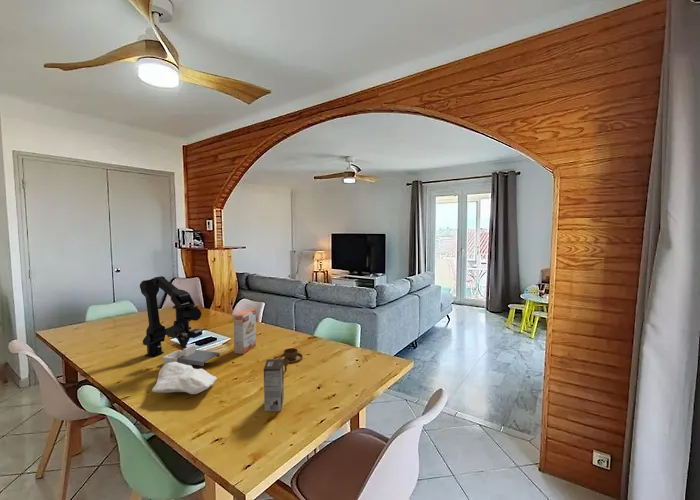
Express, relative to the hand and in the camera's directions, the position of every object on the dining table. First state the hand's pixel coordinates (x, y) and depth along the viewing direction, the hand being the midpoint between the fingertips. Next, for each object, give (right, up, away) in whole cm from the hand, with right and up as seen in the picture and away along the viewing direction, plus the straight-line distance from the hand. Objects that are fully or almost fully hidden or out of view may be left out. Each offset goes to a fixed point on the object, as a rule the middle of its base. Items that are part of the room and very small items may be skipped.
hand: (183, 349), depth 167 cm
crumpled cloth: (+12, -9, -26) cm, 30 cm away
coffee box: (+54, -10, -39) cm, 67 cm away
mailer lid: (+9, -4, -2) cm, 10 cm away
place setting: (+50, -8, +2) cm, 51 cm away
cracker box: (+25, -6, +18) cm, 31 cm away
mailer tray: (-1, -7, +1) cm, 7 cm away
